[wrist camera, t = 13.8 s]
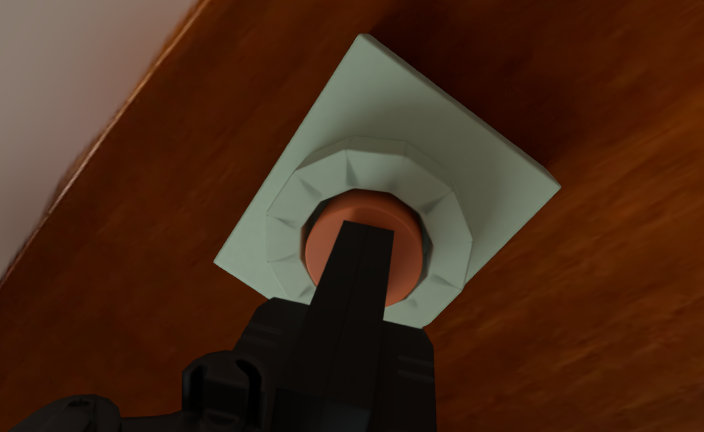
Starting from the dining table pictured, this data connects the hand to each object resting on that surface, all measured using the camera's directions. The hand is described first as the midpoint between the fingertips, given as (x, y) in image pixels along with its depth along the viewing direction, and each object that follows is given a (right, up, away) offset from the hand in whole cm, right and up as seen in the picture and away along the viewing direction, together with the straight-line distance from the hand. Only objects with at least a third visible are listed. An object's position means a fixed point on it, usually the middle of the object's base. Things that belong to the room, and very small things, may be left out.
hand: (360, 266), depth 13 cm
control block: (+1, +2, +4) cm, 5 cm away
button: (0, +1, +2) cm, 2 cm away
